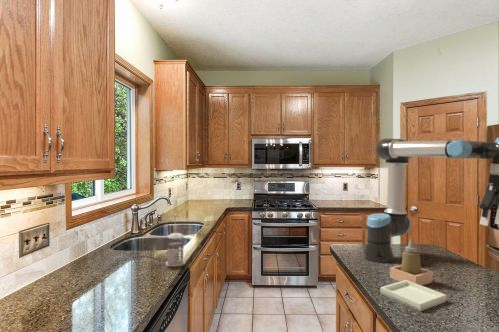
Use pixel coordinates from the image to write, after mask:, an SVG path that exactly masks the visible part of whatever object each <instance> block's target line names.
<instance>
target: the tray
mask: <svg viewBox="0 0 499 332" xmlns="http://www.w3.org/2000/svg"><path fill="white" fill-rule="evenodd" d="M379 290H380V291H379V293H380V295H383V296H385V297H387V298H389V299H390V300H391V299H392V300H394V301H396V302H397V303H400V304H401V305H402V304H403V305H405V306H407V307H409V308H411V309H414V310H415V311H418V312H422V311H425V310H427V309H429V308H433V307H436V306H438V305H441V304H443V303H446V302H447V294H445V293H444V292H443V293H442V292H439V291H437V290H434V289H432V288H430V287H426V286H425V285H422V286H421V285H418V284H416V283H413V282H410V281H408V280H404V281H398V282H394V283H391V284H387V285H384V286H381V287H380V289H379Z"/></svg>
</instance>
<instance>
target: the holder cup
mask: <svg viewBox="0 0 499 332" xmlns="http://www.w3.org/2000/svg"><path fill="white" fill-rule="evenodd" d="M401 265H402V264H400V265H399V264H398V265H395V266H391V267H389V278H390V279H392V280H395V281H398V282H400V281H404V280H408V281H410V282H413V283H416V284H418V285H421V286H425V285H428V284H431V283H433V282H434V271H431V270H429V269H427V268H426V269H425V268H422V267H421V272H422V274H418V275H412V274H409V273H406V272H404V271H401Z"/></svg>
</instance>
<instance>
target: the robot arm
mask: <svg viewBox="0 0 499 332" xmlns="http://www.w3.org/2000/svg"><path fill="white" fill-rule="evenodd" d="M374 150H375V153H376V155H377V157H379V158H380V159H381V160H385V162H384V163H385V164H386V165H387V168H388V169H387V170H388V171H387V194H386V195H387V197H386V200H387V201H386V203H387V204H386V209H384V211H383V213H382V212H381V213H380V212H379V213H372V214H369V215H368V216H367V221H366V239H367V240H366V245H365V247H364V250H363V258H364V259H366V260H368V261H372V262H377V263H392V262H393V261H395V255H394V253H393V248H392V246H391V242H392V241H391V238H394V237H402V236H405V235H406V234H407V233H408V232H409V231H410V230H411V226H412V222H411V219H410V218H409V216H408V212H407V211H406V210H405V192H406V191H405V190H406V185H405V184H406V167H407V165H409V164H410V162H409V159H411V158H445V159H446V158H450V159H478V160H491V163H490V169H489V173H490V174H489V175H488V179H487V182H488V183H489V184H491V185H487V187H486V191H485V193H484V196H483V197H482V200H481V203H480V205H479V209H481V215H480V221H479V225H481V226H486V227H489V222H490V217H491V211H492V210H491V208H492V206H493V205H494V204H495V202H497V206H498V208H497V209H496V215H495V220H494V225H495V224H496V225H499V137H496V139H495V140H494V141H491V142H490V141H475V140H465V139H454V140H415V141H414V140H412V141H411V140H410V141H409V140H406V139H402V138H383V139H381V140H379V141H377V143H376V145H375V149H374Z"/></svg>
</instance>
